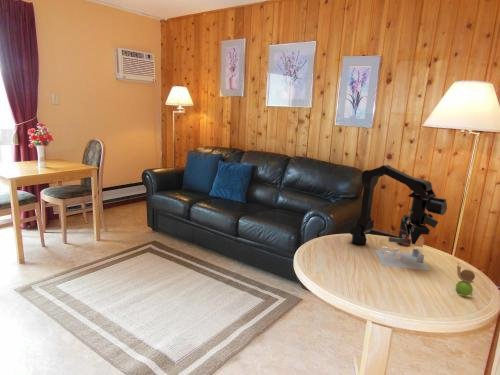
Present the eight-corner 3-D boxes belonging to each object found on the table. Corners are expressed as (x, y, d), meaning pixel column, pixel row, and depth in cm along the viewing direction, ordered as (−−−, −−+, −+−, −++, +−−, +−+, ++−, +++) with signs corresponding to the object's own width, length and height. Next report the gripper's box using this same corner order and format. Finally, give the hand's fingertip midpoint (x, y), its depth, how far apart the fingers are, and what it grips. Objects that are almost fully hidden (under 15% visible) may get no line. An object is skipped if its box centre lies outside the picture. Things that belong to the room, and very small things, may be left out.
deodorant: (397, 247, 174) (402, 219, 171) (396, 243, 180) (400, 216, 177) (410, 249, 173) (415, 221, 169) (408, 245, 178) (413, 218, 175)
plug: (389, 243, 151) (391, 234, 150) (387, 239, 155) (389, 231, 154) (422, 247, 149) (424, 238, 148) (419, 243, 153) (421, 235, 152)
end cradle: (417, 262, 155) (418, 255, 154) (411, 255, 162) (412, 248, 162) (422, 262, 154) (424, 255, 154) (417, 255, 162) (418, 248, 161)
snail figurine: (453, 288, 135) (458, 260, 132) (472, 294, 131) (478, 265, 128) (450, 293, 130) (456, 264, 128) (470, 299, 126) (476, 270, 124)
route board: (382, 267, 150) (382, 265, 149) (373, 251, 167) (374, 249, 167) (429, 273, 147) (430, 270, 147) (416, 256, 164) (417, 254, 164)
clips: (384, 257, 157) (385, 251, 157) (381, 252, 164) (382, 246, 163) (400, 259, 156) (401, 253, 156) (397, 254, 163) (397, 248, 162)
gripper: (446, 217, 138) (438, 252, 141) (430, 205, 156) (424, 237, 159) (417, 214, 139) (410, 249, 143) (405, 202, 157) (399, 234, 161)
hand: (411, 242), depth 151 cm, fingers closed on plug, 4 cm apart
